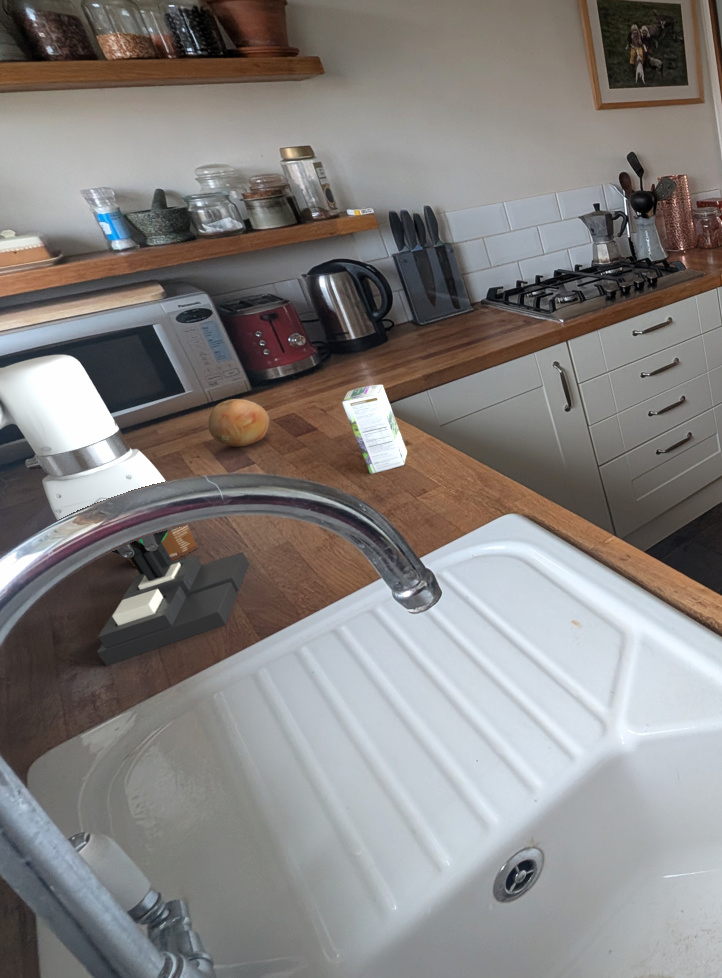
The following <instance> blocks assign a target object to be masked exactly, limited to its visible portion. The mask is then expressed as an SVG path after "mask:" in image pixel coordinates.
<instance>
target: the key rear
mask: <svg viewBox="0 0 722 978" xmlns="http://www.w3.org/2000/svg"><path fill="white" fill-rule="evenodd" d="M181 567H182V566H181V565H180V563H176V564H172V565H170V568H169V570H168V571H167V573H166V575H165V576H164V577H161V578H159V577H158V578H155V580H151V581H148V579H147V578H146V576H144V578H143V579H142V581H141V583H140V584H139V586H138V587H139V589H140V590H141V589H144V588H147V587H150V586H153V585H157V584H160V583H163V582H166V581H169V580H172V579H175V578H176V576H177V574H178V572H179V570H180V569H181Z"/></svg>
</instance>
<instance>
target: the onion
mask: <svg viewBox="0 0 722 978" xmlns="http://www.w3.org/2000/svg"><path fill="white" fill-rule="evenodd" d="M269 425H270V417H269V414H268V413H267V411H266V410H265V408H263V407H262V406H261V405H259V404H258V403H256V402H253V401H251V400H248V399H243V398H233V399H232V398H231V399H226V400H224V401H221V402H219V403H217V404H216V405H215V406H214V407H213V408H212V409H211V411H210V414H209V418H208V431H209V434H210V435H211V436H212V438H213V439H214V440H215V441H217V442H219V443H221V444H223V445H225V446H228V447H235V448H242V447H247V446H249V445H251V444H254V443H256V442H258V441H260V440H262V439H264V438H265V436H266V434H267V431H268V429H269Z"/></svg>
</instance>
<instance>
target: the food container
mask: <svg viewBox="0 0 722 978" xmlns="http://www.w3.org/2000/svg"><path fill="white" fill-rule="evenodd" d="M140 542H141V543H142V544H143V541H142V539H140ZM161 542H162V544H163V546H164V547H165V549H166V551H167V552H168V554H169V556H170V557H171V560H172V562H174V561H175V560H174V559H177V558H179V557H180V556H183V555H185V554H187V553H189V552H191V551H192V550H194V549H196V548H198V549H199V547H198V544H197V542H196V540H195V538H194V535H193V534H192V532H191V529H190V528H189V525H188V524H187V525H186V526H183V527H179V528H176V529H174V530H172V531H169V532H167V533H166V535H165V536H164V538H163V540H162V541H161ZM143 545H144V544H143ZM196 550H197V549H196ZM191 553H192V552H191ZM189 554H190V553H189ZM187 555H188V554H187ZM185 556H186V555H185ZM183 557H184V556H183ZM179 559H180V558H179ZM127 560H128V561H129V562H130V564H131V565H132V566H133V565H134V563H133V562H132V560H131V559H130V558H127ZM173 560H174V561H173ZM177 560H178V559H177Z"/></svg>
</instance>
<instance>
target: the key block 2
mask: <svg viewBox="0 0 722 978" xmlns="http://www.w3.org/2000/svg"><path fill="white" fill-rule="evenodd" d="M160 593H161V594H162V596H163V598H164V600H163V602H162V604H161V606H160V607H159V609H158V611H157V613H155V614H152V615H149V616H146V617H143V618H140V619H137V620H134V621H131V622H128V623H125V624H122V625H119V626H118V625H117V623H116V622H115V620H114V619H113V617H112V616H113V614H114V613H115V611H116V609H117V608H118V606H119V605H117V606H116V607H115V609H114V611H113V612H112V614H111V615H110V617H109V619H108V620H107V622H106V623H105V625H104V627H102V630H101V631H100V633H99V634H98V636H97V638H98V640H99V641H100V643H101V645H100V646H99V649H98V650H97V651H96V654H97V655H98V656H99V658H100V659H101V661H102V662H103V664H104V665H105V666H106V667H108V666H110V665H114V664H117V663H120V662H122V661H125V660H128V659H131V658H134V657H137V656H140V655H142V654H145V653H148V652H150V651H151V652H152V651H154V650H156V649H157V650H158V649H160V648H163V647H165V646H168V645H171V644H174V643H177V642H180V641H183V640H186V639H189V638H191V637H194V636H197V635H200V634H202V633H206V632H208V631H213V630H214V629H217V628H220V627H223V626H225V625H227V624H228V621H229V619H230V616H231V613H232V610H233V608H234V605H235V603H236V600H237V598H238V595H239V594H238V591H236V590H235V589H234V587H233V585H232V583H231V582H228V583H225V584H222V585H219V586H216V587H213V588H210V589H207V590H204V591H201V592H198V593H195V594H192V595H189V596H186V595H185V593H184V592H183V590H182V588H181V587H180V586H179V587H176V588H173V589H170V590H166V591H163V592H160Z"/></svg>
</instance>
